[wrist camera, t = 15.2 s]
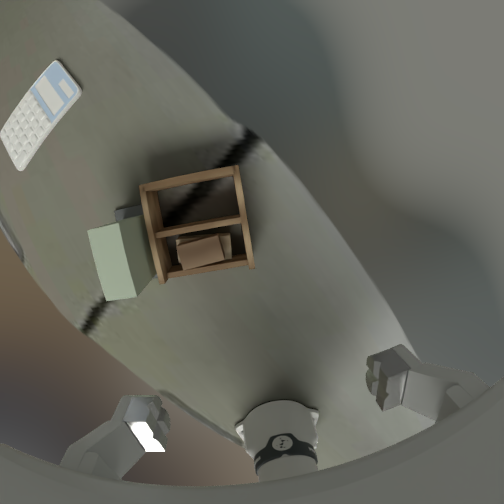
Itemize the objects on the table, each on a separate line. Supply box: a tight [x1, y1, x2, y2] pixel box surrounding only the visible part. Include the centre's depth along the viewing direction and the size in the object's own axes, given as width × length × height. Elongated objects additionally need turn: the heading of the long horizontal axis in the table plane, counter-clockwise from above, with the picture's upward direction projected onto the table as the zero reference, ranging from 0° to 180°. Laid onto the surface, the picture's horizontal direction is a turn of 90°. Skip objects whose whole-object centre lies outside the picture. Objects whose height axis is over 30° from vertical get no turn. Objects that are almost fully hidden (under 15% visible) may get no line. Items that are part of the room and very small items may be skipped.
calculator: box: [0, 60, 82, 171], centre depth 33 cm, size 13×20×2 cm, turn 130°
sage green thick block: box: [88, 215, 157, 301], centre depth 35 cm, size 4×9×12 cm, turn 9°
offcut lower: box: [176, 233, 232, 263], centre depth 41 cm, size 4×8×3 cm, turn 93°
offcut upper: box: [176, 233, 225, 270], centre depth 38 cm, size 4×6×2 cm, turn 104°
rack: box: [139, 165, 255, 284], centre depth 38 cm, size 14×14×6 cm
